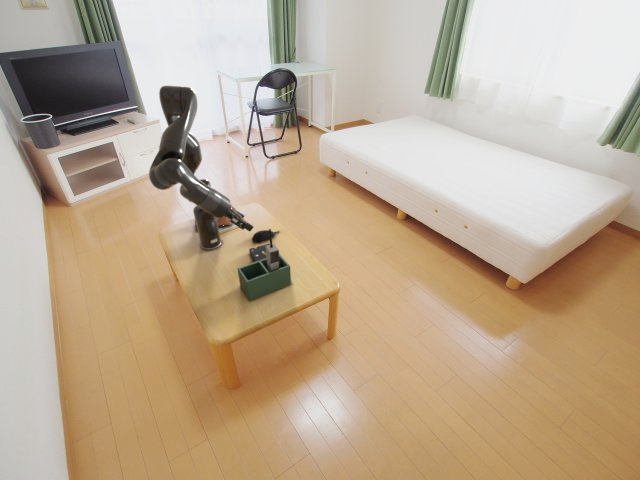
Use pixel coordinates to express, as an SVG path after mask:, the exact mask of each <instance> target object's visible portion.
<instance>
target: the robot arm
mask: <svg viewBox="0 0 640 480" xmlns="http://www.w3.org/2000/svg"><path fill="white" fill-rule="evenodd" d="M158 95H159V102H160V105H161V106H160V107H161V110H162V112H163V115H164V118H165V121H166V125H167V127H166V128H165V130H163V132H162V134H161V137H160V142H159V147H158V151H157V154H156V155H155V157H154V158H153V161H152V163H151V165H150V167H149V170H148V177H149V181H150V183H151V185H152V186H153V187H154V188H156V189H157V190H161V191H165V190H169V189H171V188H172V187H174V186H176V185H178V184H181V185H180V187H179V194H180V196H182V197H183V198H184V199H185V200H187V201H188V202H189V203H191V204H194V205H195V207H194V208H193V210H192V212H193V216H194V217H193V218H194V222H195V221H196V225H197V229H198V232H197V233H198V237H199V241H200V246H201V248H202V250H205V251H210V250H211V251H212V250H216V249H218V248H219V247H220V246H222V239H221V235H220V234H221V233H220V228H218V223H217V218H220V217H223V216H225V218H226V219H228V220H230V222H231V223H232V225H235V226H236V227H238V228H240V229H241V230H243V231H244V230H246V231H248V232H252V230H253V229H254V225H252V224H251V223H249V222H247V220H245V219H244V214H242V213H241V212H240V211H238V210H237V209H236V207H234V206H233V205H232V204H231V199H230V198H229V197H228V196H225V195H224V194H222V193H221V192H219V191H218V190H217V189H215V188H214V187H212V185H211V182H210V181H209V179H207V178H204V179H203V178H202V179H198V178H197V176H196V175H195V174H196V172H197V171H198V169H199V167H200V166H201V163H202V162H203V161H202V160H203V156H202V155H203V154H202V149H201V144H200V142H199V141H198V139H197V137H195V135H193V133H192V132H190V131H191V129H192V126H193V124H194V121H195V118H196V116H197V111H198V98H197V93H196V91H195V90H194V89H193V88H192V87H189V86H180V85H162V86H161V87H160V88H159V93H158ZM216 217H217V218H216ZM196 225H195V226H196ZM197 229H196V230H197Z"/></svg>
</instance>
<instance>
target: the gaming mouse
mask: <svg viewBox="0 0 640 480" xmlns="http://www.w3.org/2000/svg"><path fill="white" fill-rule="evenodd" d="M279 232H280V231H279V230H278V231H273V230H271V237H272V239H273V238H274V237H275V235H276V234H277V233H279ZM251 241H252V243H258V244H260V243H264V242H266V241H270V233H269V229H264V230H259V231H256V232H255V233H254V234H253V235H252V237H251Z"/></svg>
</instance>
